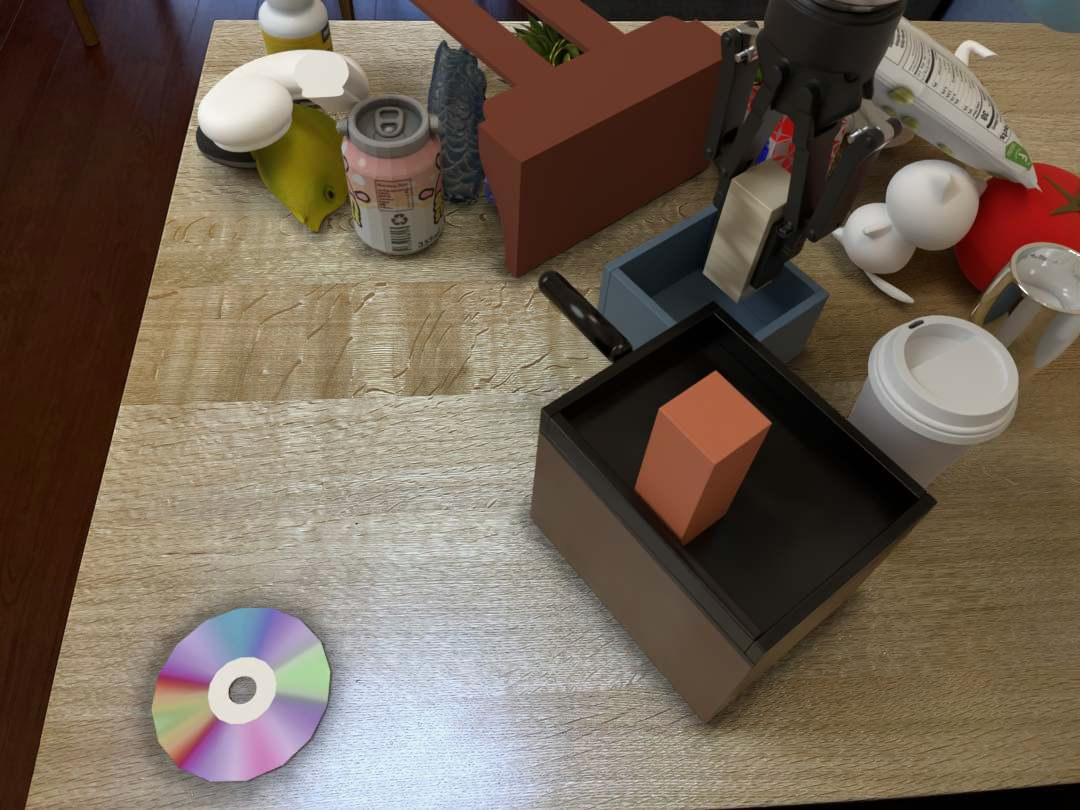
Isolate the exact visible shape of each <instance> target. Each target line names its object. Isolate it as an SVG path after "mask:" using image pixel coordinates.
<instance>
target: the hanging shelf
mask: <svg viewBox="0 0 1080 810" xmlns="http://www.w3.org/2000/svg"><path fill="white" fill-rule="evenodd" d="M408 1H409V2H410V3H411V4H413V5H414V6H415V7H416V8H417V9H418V10H419V11H421V12H422V13H423V14H424V15H425V16H427V17H428V18H429V19H430V20H431V21H432V22H434V23H435V24H436V25H437V26H439V28H441V29H442V30H443V31H444V32H445V33H446V34H448V35H449V36H450V37H451V38H453V39H454V40H455V41H456V42H457V43H458V44H460V46H461V45H462V46H463V47H465V48H466V49H467V50H468V51H469V52H470V53H471V54H472V55H474V56H475V57H476V58H477V59H478V61H480V62H481V63H482V64H483V65H485V67H487V68H488V69H489V70H490V71H492V72H493V73H494V74H495V75H497V76H498V78H499V79H501V80H504V81H505V82H506V83H507V85H508V87H509V86H511V87H512V88H510V87H509V88H508V89H506V90H504V91H502V92H499V93H496V94H495V95H493V96H491V97H489V98H486V100H485V101H484V104H483V114H484V117H485V119H486V120H485V121H483V122H481V123H479V124H478V145H479V154H480V159H481V163H482V166H483V170H484V173H485V175H486V178H487V181H488V183H489V186H490V189H491V191H492V194H493V197H494V199H495V202H496V205H495V206H496V208H497V212H498V215H499V219H500V223H501V228H502V229H501V230H502V233H503V234H502V235H503V242H504V265H503V267H504V268H505V269H506V270H507V271H508V272H509V273H510V274H511V275H512V276H513V277H514V278H519V277H520V276H522V275H524V274H526V273H528V272H529V271H531V270H533V269H534V268H536V267H538V266H539V265H542V264H543V263H544V262H547V261H548V260H550V259H552V258H554V257H555V256H557V255H559V254H561V253H562V252H564V251H566V250H567V249H569V248H571V247H572V246H574V245H576V244H577V243H579V242H582V241H583V240H585V239H587V238H589V237H590V236H591V235H593V234H596V233H597V232H598V231H600V230H602V229H605V228H606V227H607V226H609V225H611V224H612V223H614V222H615V221H617V220H619V219H621V218H623V217H624V216H626V215H628V214H630V213H632V212H633V211H635V210H637V209H638V208H640V207H642V206H644V205H645V204H647V203H649V202H650V201H653V200H654V199H656V198H658V197H659V196H661V195H662V194H664V193H666V192H668V191H670V190H671V189H673V188H675V187H677V186H678V185H680V184H681V183H684V182H686V181H687V180H689V179H690V178H692V177H694V176H696V175H697V174H699V173H701V172H702V171H704V170H706V169H708V168H709V166H710V162H711V160H708V159H706V157H705V156H704V154H703V147H704V142H705V138H706V133H707V129H708V125H709V120H710V116H711V111H712V107H713V102H714V98H715V94H716V89H717V85H718V80H719V76H720V71H721V67H722V58H721V35H720V34H719V33H717V31H715V30H713V29H712V28H710V27H709V26H708V25H706V24H705V23H703V22H702V21H701V20H699V19H698V18H695V19H693V20H690V21H686V20H682V19H679V18H677V17H674V16H669V15H664V16H661V17H659V18H656V19H655V20H652V21H650V22H648V23H646V24H644V25H641V26H639V27H637V28H635V29H633V30H631V31H629V32H627V33H624V32H623V31H622V30H621V29H619V28H617V27H616V26H615V25H614V24H612V23H611V22H609V21H608V20H607V19H606V18H604V17H602V16H601V15H600V14H599V13H597V12H596V11H595V10H594V9H592V8H590V7H589V5H586V4H585V3H584V2H582V1H581V0H516V1H517V2H518V3H519V4H521V5H522V6H523V7H524V8H526V9H527V10H528V11H529V12H531V13H532V14H534V15H535V16H536V17H537V16H538V17H539V18H540V19H541V20H543V21H544V22H545V23H546V24H548V25H549V26H550V27H552V28H553V29H554V30H555V31H557V32H558V33H559V34H561V35H562V36H563V37H564V38H566V39H567V40H568V41H570V42H571V43H572V44H573V45H575V46H576V47H577V48H579V49H580V50H581V51H582V52H584V54H582V55H580V56H578V57H576V58H574V59H571V60H569V61H567V62H565V63H563V64H561V65H559V66H557V67H554V66H552V65H551V64H550V63H549V62H547V61H546V60H545V59H544V58H542V57H541V56H540V55H539V54H537V53H536V52H535V51H534V50H533V49H531V48H530V47H529V46H528V45H526V44H525V43H524V42H523V41H521V40H520V39H519V38H518V37H516V36H517V35H515V34H513V33H511V32H512V31H510V29H508V28H507V27H506V26H504V24H502V23H501V22H499V21H498V20H497V19H495V18H494V17H493V16H492V15H491V14H489V13H488V12H487V11H485V10H484V9H483V8H482V7H481V6H480V5H478V4H477V3H476V2H475V1H473V0H408ZM538 17H537V18H538ZM539 18H538V19H539ZM506 83H505V84H506Z"/></svg>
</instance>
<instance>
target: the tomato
mask: <svg viewBox="0 0 1080 810" xmlns="http://www.w3.org/2000/svg"><path fill="white" fill-rule="evenodd" d="M1032 164H1033V166H1034V170H1035V174H1036V177H1037V185H1038V186H1039V188H1040V189H1041V191H1042V192H1041V191H1040V190H1039V189H1037V188H1029V189H1028V188H1026V187H1025V186H1024V185H1023V184H1022V183H1014V182H1012V181H1009V180H1007V179H998V178H996V177H994V176H991V177H989V178H988V179H987V180H985V181H986V183H987V187H986V189H985V191H984V192H983V194H982V195H981V196H980V197H979V206H978V212H977V215H976V218H975V220H974V223H973V225H972V226H971V228H970V230H969V231H968V233H967V234H966V235H965V236H964V237H963V238H962V239H961V240H960V241H959V242H958V243H956V244H955V245H954V253H955V257H956V261H957V263H958V265H959V267H960V269H961V272H962V273H963V274H964V276H965V277H966V279H967V280H968V281H969V282H970V283H971V284H972V285H973V286H974V287H975V288H976V289H977V290H979V291H980V292H981V293H982V292H983V291H984V289H985V288H986V287H987V285H988V284H989V283H990V282H991V280H992V279H993V278H994V277H995V276H996V274H997V273H998V272H999V271H1000V270H1001V269H1002V267H1003V266H1004V265H1005V264H1006V263H1007V262H1008V261H1009V260H1010V259H1011V257H1012V256H1013V254H1014V253H1015V252H1016V251H1017V250H1018V249H1019V248H1021V247H1022V246H1024V245H1027V244H1031V243H1036V242H1048V243H1054V244H1059V245H1062V246H1065V247H1068V248H1071V249H1073V250H1075V251H1077V252H1079V253H1080V176H1078V175H1076V174H1075V173H1072V172H1071V171H1069V170H1066V169H1064V168H1061V167H1058V166H1055V165H1052V164H1050V163H1045V162H1032Z"/></svg>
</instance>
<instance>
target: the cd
mask: <svg viewBox="0 0 1080 810" xmlns="http://www.w3.org/2000/svg"><path fill="white" fill-rule="evenodd" d="M331 673H332V671H331V669H330V666H329V662H328V659H327V657H326V654H325V651H324V648H323V644H322V641H321V640H320V639H319V637H317V635H315V634H314V633H313V632H312V631H311V630H310V628H309V627H308V626H307V625H306V624H305V623H304V622H303V620H301V619H300V618H299V617H298V618H297V617H295V616H292V615H290V614H288V613H285V612H282V611H280V610H278V609H275V608H273V607H241V608H240V607H238V608H235V609H233V610H230V611H228V612H225V613H222V614H219V615H217V616H215V617H212V618H209V619H207V620H205V621H203V622H202V623H200V625H198V626H197V627H196V628H195V629H194V630H193V631H192V632H190V633H189V634H187V636H185V637H184V638H183V639H182V640H181V641H179V642H178V643H177V644H176V646H175V647H174V649H173V651H172V652H171V654H170V655H169V657H168V658H167V660H166V662H165V664H164V665H163V667H162V669H161V670H160V672H159V673H158V675H157V680H156V685H155V691H154V695H153V700H152V705H151V714H152V718H153V723H154V728H155V732H156V738H157V741H158V744H159V745H160V746H161V747H162V749H163V750H164V751H165V752H166V754H167V755H168V757H170V759H171V760H172V761H173V762H174V763H175V765H176V766H177V767H178V769H180V770H183V771H185V772H187V773H189V774H192V775H193V776H196V777H199V778H201V779H203V780H205V781H207V782H211V783H214V782H215V783H219V782H248V781H250V780H252V779H255V778H257V777H259V776H262V775H264V774H266V773H268V772H271V771H273V770H276V769H278V768H280V767H282V766H284V765H285V764H286V763H287V762H288V761H289V760H290V759H291V758H292V757H293V756H294V755H296V753H298V752H299V750H301V749H302V748H303V747H304V746H305V745H306V744H307V743H308V742H309V741H310V740H311V739H312V737H313V735H314V733H315V732H316V729H317V727H318V725H319V723H320V722H321V719H322V717H323V715H324V713H325V711H326V709H327V707H328V704H329V703H328V702H329V692H330V682H331ZM243 677H248V678H250V679H252V680H253V681H254V683H255V685H256V690H255V693H254V695H253V697H252V698H251V699H250V700H249V701H247V702H245V703H237V702H234V701H232V700H231V699H230V695H229V690H230V687H231V685H232V684H233V683H234V682H235V681H236V680H237V679H239V678H243Z"/></svg>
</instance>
